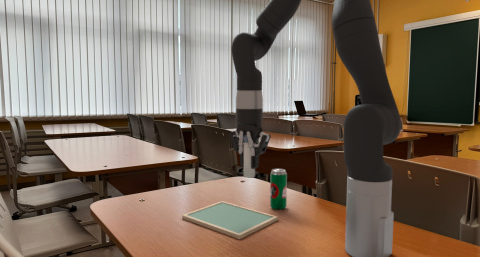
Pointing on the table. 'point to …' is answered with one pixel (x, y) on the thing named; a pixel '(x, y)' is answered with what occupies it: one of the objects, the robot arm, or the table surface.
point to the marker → (247, 159)
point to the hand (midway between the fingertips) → (249, 167)
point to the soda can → (278, 189)
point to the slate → (230, 219)
